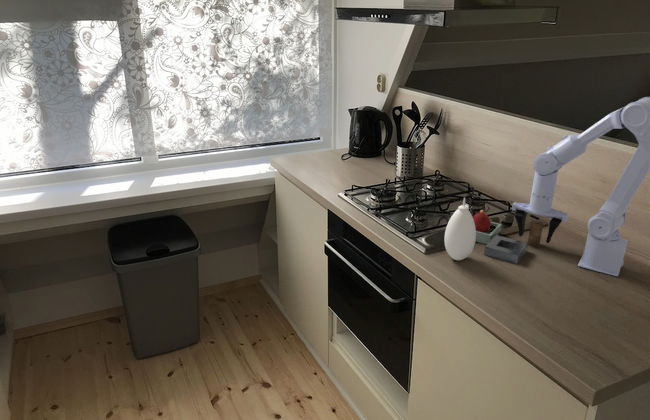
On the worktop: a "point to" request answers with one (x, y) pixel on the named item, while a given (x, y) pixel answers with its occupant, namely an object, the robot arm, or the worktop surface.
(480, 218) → the onion
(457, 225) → the sauce bottle
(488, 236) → the case
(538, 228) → the tan upright cylinder
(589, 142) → the robot arm
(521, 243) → the gray square socket block
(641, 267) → the worktop surface
